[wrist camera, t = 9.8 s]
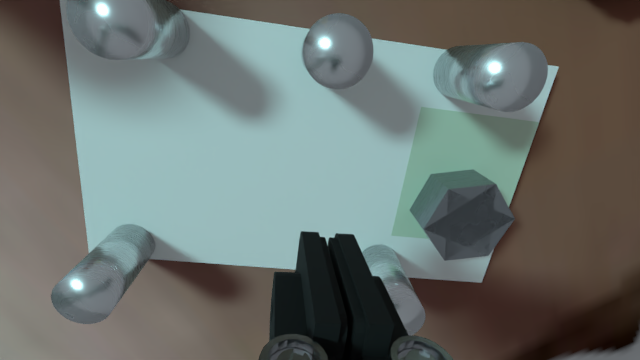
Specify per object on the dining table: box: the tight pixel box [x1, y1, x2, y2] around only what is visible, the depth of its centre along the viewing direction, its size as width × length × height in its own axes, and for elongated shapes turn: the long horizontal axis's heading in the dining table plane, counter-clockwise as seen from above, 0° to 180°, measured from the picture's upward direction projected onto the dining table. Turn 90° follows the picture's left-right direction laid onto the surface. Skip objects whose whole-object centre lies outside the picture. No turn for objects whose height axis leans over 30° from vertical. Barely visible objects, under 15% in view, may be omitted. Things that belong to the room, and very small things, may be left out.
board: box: [60, 0, 558, 283], centre depth 19 cm, size 14×25×1 cm, turn 82°
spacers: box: [51, 0, 548, 336], centre depth 16 cm, size 15×20×5 cm
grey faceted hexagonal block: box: [410, 169, 515, 261], centre depth 19 cm, size 4×5×2 cm
